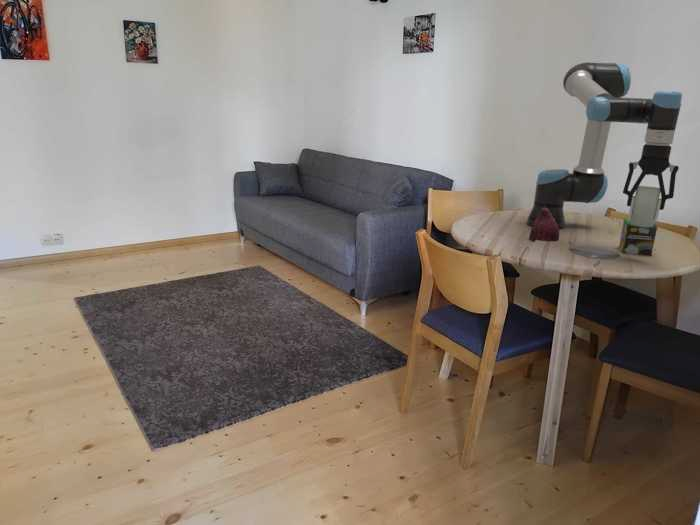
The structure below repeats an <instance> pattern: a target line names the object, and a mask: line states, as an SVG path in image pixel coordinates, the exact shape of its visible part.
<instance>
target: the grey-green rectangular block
mask: <svg viewBox="0 0 700 525" xmlns="http://www.w3.org/2000/svg"><path fill="white" fill-rule="evenodd" d="M634 194H635V195H634V196H635V200H634V205H633V210H632V215H631V217H630V218H629V219H630V224H631V225H634V226H638V227H653V224H655V220H654V219H655V214H656V209H657V205H658V200H659V199H660V197H661V192H660V187H656V186H647V185H639V186H638V188H637V189H636V191H635V193H634Z"/></svg>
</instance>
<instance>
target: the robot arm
mask: <svg viewBox="0 0 700 525" xmlns="http://www.w3.org/2000/svg"><path fill="white" fill-rule="evenodd" d="M631 78H632V76H631V72H630V69H629V67H628V66H627V65H626V64H623V63H618V62H617V63H616V62H610V63H609V62H608V63H607V62H581V63H578V64H576V65H574V66H572V67H571V68H570V69H569V70H568V71H567V72H566V73H565V74H564V77H563V81H562V83H563V84H562V85H563V89H564V90H565V92H566V93H567V94H568V95H569V96H571V97H573V98H574V97H575V98H577V100H579V101H580V102H581V104H583V105H584V106H585V107H586V110H585V115H586V118H587V121H586V125H585V126H586V127H585V131H584V136H583V141H582V145H581V151H580V157H579V159H578V160H579V161H578V164H577V165H576V166H575V167H573V170H572V173H570V171H569V170H568V169H564V168H563V169H562V168H561V169H559V168H557V169H556V168H555V169H554V168H553V169H545V170H542V171H540V172H539V174H537V180H536V182H535V183H536V187H535V194H534V201H533V207H532V208H531V210H530V212H529V214H528V216H527V220H526V224H527V226H531V227H532V226H533V224H534V222H535V220H536V219H537V217H538V216H539V214H540V212H541V210H542V208H544V206H545V207H546V208H548V210H549V211H550V213H551V215H552V217H553V218H554V219H555V221H556V223H557V225H558V229H559V230H561V229H564V228H565V227H566V219H565V213H564V203H566V202H567V203H585V204H591V203H593V204H594V203H598V202H599V201H601V200H602V199H603V198H604V197H605V195H606V192H607V190H608V181H609V180H608V177H607V175H605V171H604V169H603V167H602V165H603V161H604V156H605V151H606V147H607V142H608V139H609V134H610V129H611V123H628V124H629V123H630V124H631V123H633V124H643V125H644V124H647V127H646V130H645V136H644V143H645V144H644V145H642V146H643V147H642V150H641V151H642V152H641V157H640V159H639V160H638V161H634V162H633V161H630V162H629V163H628V174H627V178H626V180H625V184H624V187H623V189H622V190H623V191H622V193H623V194H624V195H627V202H626V206H627V207H629V213H628V218H631V215H632V210H633V205H634V200H635V195H634V194H636V189H637V188H638V186H641V185H640V184H641V183H642V181H643V180H644V179H645V176H648V175H649V176H651V175H653V176H657V180H658V185H659V188H660V198H659V200H658V205H657V209H656V214H655V219H654V221H658V218H659V213H660V211H663V210H664V209H665V205H666V201H667V200H669V199H673V198H674V195H675V186H676V184H675V183H676V176H677V173H678V171H679V169H680V167H679V165H674V164H671V163H670V157H671V156H670V155H671V152H672V146H671V145H672V144H673V143H674V139H675V138H674V137H675V134H676V129H677V123H678V120H679V119H678V118H679V114H680V110H681V107H682V99H683V94H682V93H681V92H680V91H667V90H666V91H665V90H658V91H655V92H654V93H653V96H652V98H642V97H641V98H639V97H638V98H635V97H625V96H626V95H627V94H628V93H629V91H630V89H631V83H632V82H631V81H632V79H631ZM637 166H639V167H640V169H641V172H640V174H639V176H638V178H637V179H636V181H635V183H634V184H633V186H632V188H631V190H629V186H630V184H631V180H632V177H633V174H634V170H636V169H637ZM668 168H669V172H670V178H669V179H670V180H669V189H668V194H667V193H666V188H665V183H664V178H663V172H665V171H666V170H667V169H668Z"/></svg>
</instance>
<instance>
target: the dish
mask: <svg viewBox="0 0 700 525" xmlns="http://www.w3.org/2000/svg"><path fill="white" fill-rule="evenodd" d="M568 251H570V253H573V254H574V255H577V256H579V257H580V256H581V257H586V258H590V259H596V260H597V259H598V260H616V259H617V260H618V259H620V258H621V255H620V254H619V253H618V252H616V251H613V250H610V249H608V248H602V247H596V246H589V245H588V246H587V245H579V246H578V245H576V246H570V247H569V248H568Z"/></svg>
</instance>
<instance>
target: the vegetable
mask: <svg viewBox="0 0 700 525" xmlns="http://www.w3.org/2000/svg"><path fill="white" fill-rule="evenodd" d="M528 240H530V241H531V242H533V243H535V242H536V241H542V242H558V241H559V240H560V229H558V225H557V223H556V221H555V219H554V218H553V217H552V215H551V213H550V211H549V210H548V208H546V207H545V206H544V208H542V210H541V212H540V214H539V216H538V217H537V219H536V220H535V222H534V224H533V226H531V229H530V232H529V236H528Z"/></svg>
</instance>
